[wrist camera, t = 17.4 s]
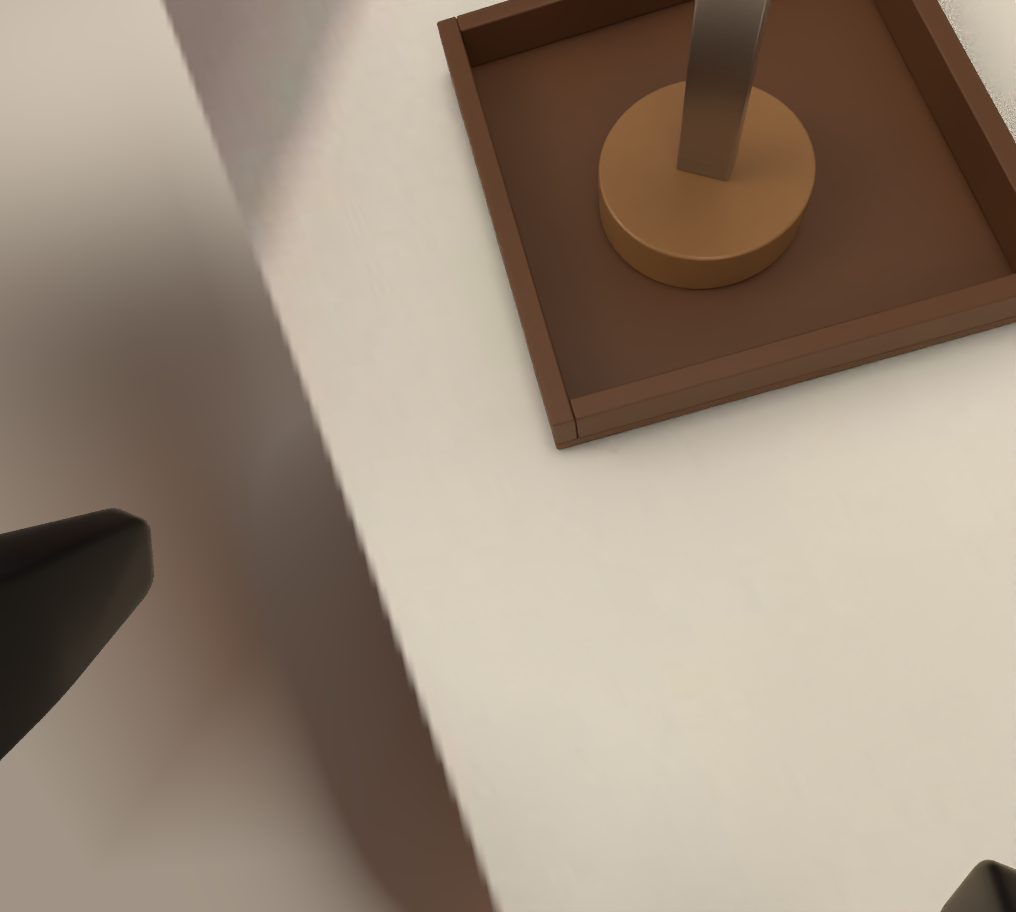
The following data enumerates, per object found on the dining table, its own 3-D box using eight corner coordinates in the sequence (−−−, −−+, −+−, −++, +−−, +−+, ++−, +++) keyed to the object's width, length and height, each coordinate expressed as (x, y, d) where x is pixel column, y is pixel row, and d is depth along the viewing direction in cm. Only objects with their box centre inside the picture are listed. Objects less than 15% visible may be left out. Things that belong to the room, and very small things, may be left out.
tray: (557, 450, 21) (551, 426, 19) (449, 71, 25) (435, 21, 24) (1046, 314, 21) (1090, 275, 19) (855, -53, 25) (875, -114, 23)
